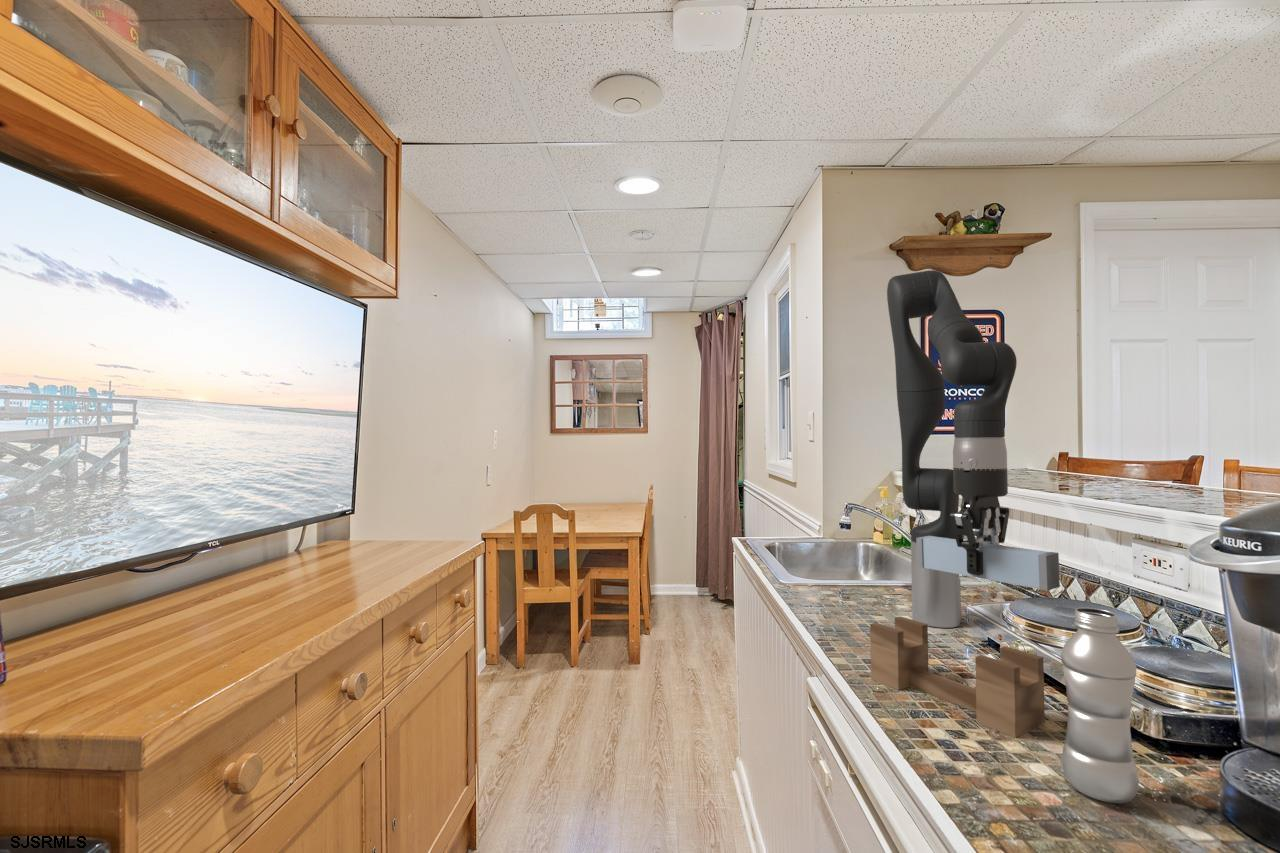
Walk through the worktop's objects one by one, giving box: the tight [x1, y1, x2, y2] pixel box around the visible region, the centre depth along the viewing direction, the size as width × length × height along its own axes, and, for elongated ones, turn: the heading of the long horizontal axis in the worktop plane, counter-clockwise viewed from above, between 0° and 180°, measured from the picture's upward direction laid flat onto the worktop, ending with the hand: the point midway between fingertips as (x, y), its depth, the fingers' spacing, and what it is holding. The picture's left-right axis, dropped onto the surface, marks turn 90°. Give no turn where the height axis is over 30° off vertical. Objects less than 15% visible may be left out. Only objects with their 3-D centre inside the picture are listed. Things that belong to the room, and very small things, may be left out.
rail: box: [916, 536, 1061, 592], centre depth 92 cm, size 4×20×5 cm, turn 32°
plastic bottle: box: [1060, 607, 1140, 805], centre depth 64 cm, size 6×7×20 cm
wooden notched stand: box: [869, 615, 1046, 739], centre depth 87 cm, size 8×22×9 cm, turn 31°
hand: (981, 572), depth 92 cm, fingers closed on rail, 3 cm apart
